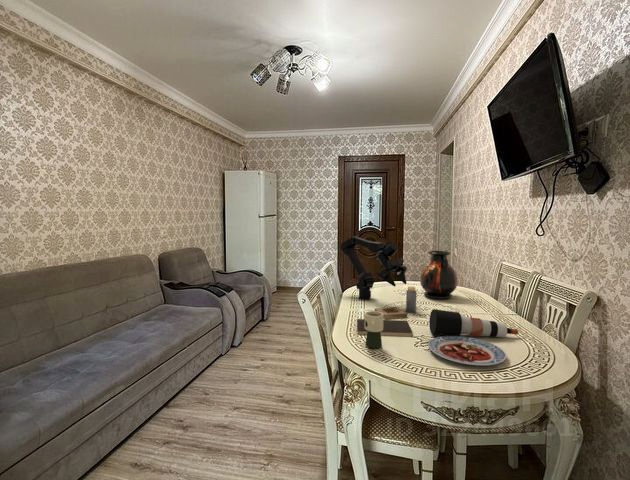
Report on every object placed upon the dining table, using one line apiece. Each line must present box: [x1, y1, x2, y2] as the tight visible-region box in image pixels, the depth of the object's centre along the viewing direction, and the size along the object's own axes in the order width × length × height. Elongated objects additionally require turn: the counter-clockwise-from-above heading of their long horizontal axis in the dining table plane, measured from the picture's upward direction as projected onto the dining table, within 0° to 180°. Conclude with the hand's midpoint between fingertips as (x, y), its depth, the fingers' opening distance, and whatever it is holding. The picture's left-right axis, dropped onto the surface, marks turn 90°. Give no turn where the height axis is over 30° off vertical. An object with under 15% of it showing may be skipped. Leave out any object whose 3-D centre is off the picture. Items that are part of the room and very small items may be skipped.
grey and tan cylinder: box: [405, 285, 417, 314], centre depth 173 cm, size 5×5×13 cm
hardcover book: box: [356, 318, 414, 337], centre depth 148 cm, size 16×23×2 cm
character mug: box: [364, 310, 384, 349], centre depth 128 cm, size 11×7×13 cm, turn 168°
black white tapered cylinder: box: [428, 308, 519, 339], centre depth 139 cm, size 10×34×10 cm, turn 82°
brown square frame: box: [374, 306, 408, 320], centre depth 169 cm, size 12×12×2 cm
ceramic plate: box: [428, 335, 507, 366], centre depth 122 cm, size 26×26×3 cm
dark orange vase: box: [419, 250, 459, 301], centre depth 203 cm, size 22×22×28 cm
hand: (400, 284), depth 179 cm, fingers open, 9 cm apart
